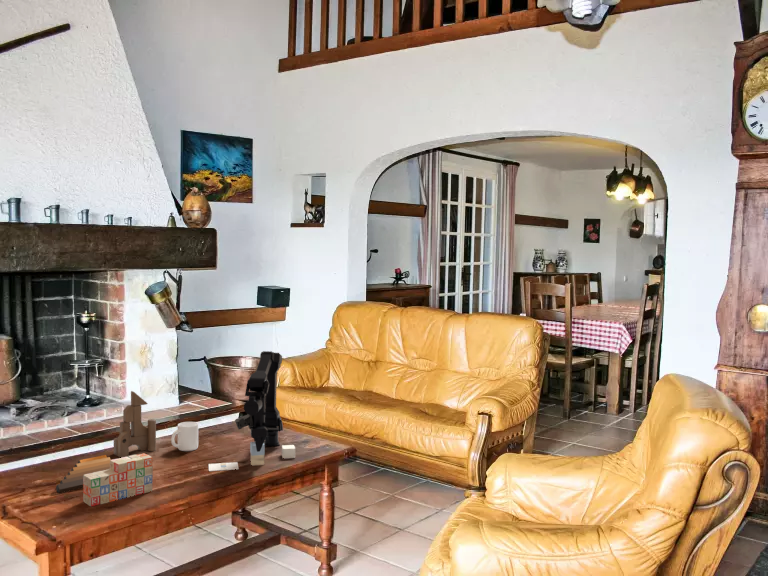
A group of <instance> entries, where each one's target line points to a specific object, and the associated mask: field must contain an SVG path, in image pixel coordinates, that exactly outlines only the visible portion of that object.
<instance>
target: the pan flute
mask: <svg viewBox="0 0 768 576" xmlns="http://www.w3.org/2000/svg"><path fill="white" fill-rule="evenodd" d="M113 459H114V458H113ZM113 459H111V457H110V456H107V454H103V455H99V456H98V455H97V456H94V457H88V458H84V459H79V460H78V461H77V463H75V465H74V466H73V467H72V468H71V470H70V471H68V473H67V475H65V476H64V477H63V479H61V480H60V481H59V484H56V486H55V491H56V493H58V494H64V493H68V492H72V491H77V490H81V489H83V475H85V474H89V473H94V472H98V471H103V470H108V469H110V460H113Z"/></svg>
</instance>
